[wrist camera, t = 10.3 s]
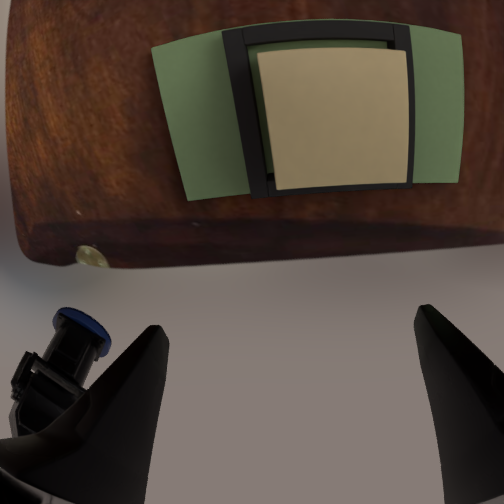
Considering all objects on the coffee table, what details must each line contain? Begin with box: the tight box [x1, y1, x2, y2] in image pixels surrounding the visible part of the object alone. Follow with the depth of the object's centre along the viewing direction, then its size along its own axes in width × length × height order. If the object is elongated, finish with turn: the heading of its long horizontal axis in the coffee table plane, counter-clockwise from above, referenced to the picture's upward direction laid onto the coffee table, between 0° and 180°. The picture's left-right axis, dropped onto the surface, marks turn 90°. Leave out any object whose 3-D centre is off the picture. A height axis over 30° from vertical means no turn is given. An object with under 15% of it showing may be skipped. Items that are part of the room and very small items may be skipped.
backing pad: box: [151, 19, 464, 201], centre depth 14 cm, size 18×10×2 cm, turn 99°
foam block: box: [257, 47, 409, 190], centre depth 12 cm, size 6×6×4 cm
